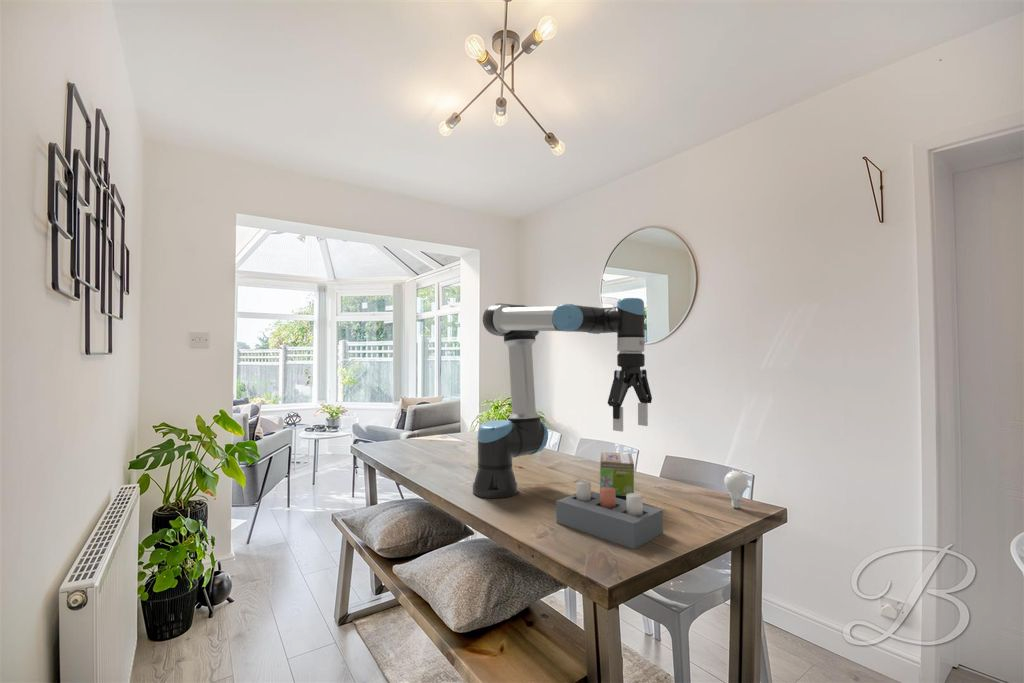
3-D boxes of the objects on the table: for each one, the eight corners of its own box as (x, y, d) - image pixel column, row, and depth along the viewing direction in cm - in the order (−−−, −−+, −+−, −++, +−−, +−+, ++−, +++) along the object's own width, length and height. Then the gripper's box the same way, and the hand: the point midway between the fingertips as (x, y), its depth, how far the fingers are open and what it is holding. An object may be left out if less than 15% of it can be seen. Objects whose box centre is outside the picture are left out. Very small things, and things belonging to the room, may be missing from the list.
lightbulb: (720, 506, 138) (719, 470, 138) (734, 503, 140) (733, 467, 141) (739, 513, 132) (738, 475, 132) (753, 509, 135) (752, 472, 135)
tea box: (635, 514, 131) (634, 462, 132) (599, 511, 133) (599, 461, 134) (631, 498, 146) (631, 452, 146) (600, 496, 148) (599, 450, 148)
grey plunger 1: (573, 502, 126) (573, 483, 127) (582, 499, 129) (582, 480, 129) (585, 506, 124) (585, 485, 124) (593, 503, 126) (593, 483, 127)
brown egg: (597, 509, 121) (597, 489, 121) (605, 506, 124) (605, 486, 124) (610, 513, 118) (609, 492, 118) (618, 509, 121) (618, 489, 121)
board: (556, 522, 124) (556, 500, 124) (587, 510, 134) (587, 490, 134) (634, 549, 107) (634, 523, 107) (662, 533, 117) (662, 509, 117)
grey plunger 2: (623, 517, 115) (623, 495, 115) (631, 513, 118) (631, 492, 118) (637, 521, 112) (637, 499, 112) (645, 517, 115) (645, 495, 115)
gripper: (619, 352, 117) (619, 435, 116) (663, 353, 135) (663, 424, 134) (594, 352, 122) (594, 431, 122) (640, 353, 140) (640, 422, 139)
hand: (630, 428), depth 128 cm, fingers open, 13 cm apart
